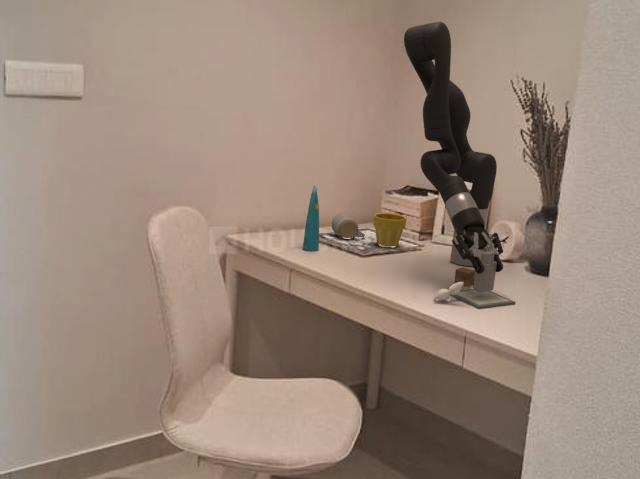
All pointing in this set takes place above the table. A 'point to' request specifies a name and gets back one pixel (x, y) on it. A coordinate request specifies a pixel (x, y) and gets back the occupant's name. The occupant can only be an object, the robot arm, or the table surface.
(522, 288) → the table surface
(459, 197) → the robot arm
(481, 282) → the power adapter
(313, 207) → the tube
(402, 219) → the plant pot
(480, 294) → the pad
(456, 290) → the rabbit figurine
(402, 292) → the table surface
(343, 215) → the ceramic mug
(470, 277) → the walnut block
